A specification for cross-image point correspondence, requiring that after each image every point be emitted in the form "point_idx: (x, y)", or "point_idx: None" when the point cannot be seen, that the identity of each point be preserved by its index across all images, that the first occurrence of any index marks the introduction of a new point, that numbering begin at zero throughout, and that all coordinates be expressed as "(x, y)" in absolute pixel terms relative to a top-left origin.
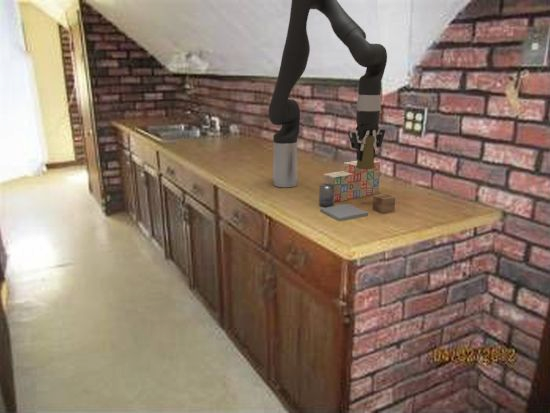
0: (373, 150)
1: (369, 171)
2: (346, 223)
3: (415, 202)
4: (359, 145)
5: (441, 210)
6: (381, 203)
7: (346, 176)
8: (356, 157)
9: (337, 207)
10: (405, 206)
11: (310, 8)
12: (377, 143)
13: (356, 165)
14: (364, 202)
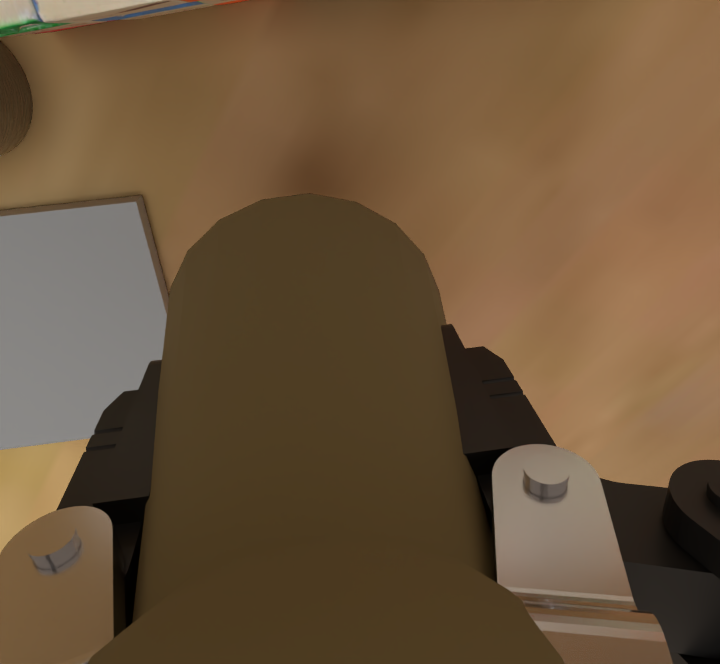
0: None
1: None
2: (8, 480)
3: (656, 299)
4: (89, 638)
5: (642, 465)
6: None
7: (148, 4)
8: (99, 421)
9: (12, 260)
10: (532, 346)
11: None
12: (695, 645)
13: (183, 268)
14: (330, 151)
